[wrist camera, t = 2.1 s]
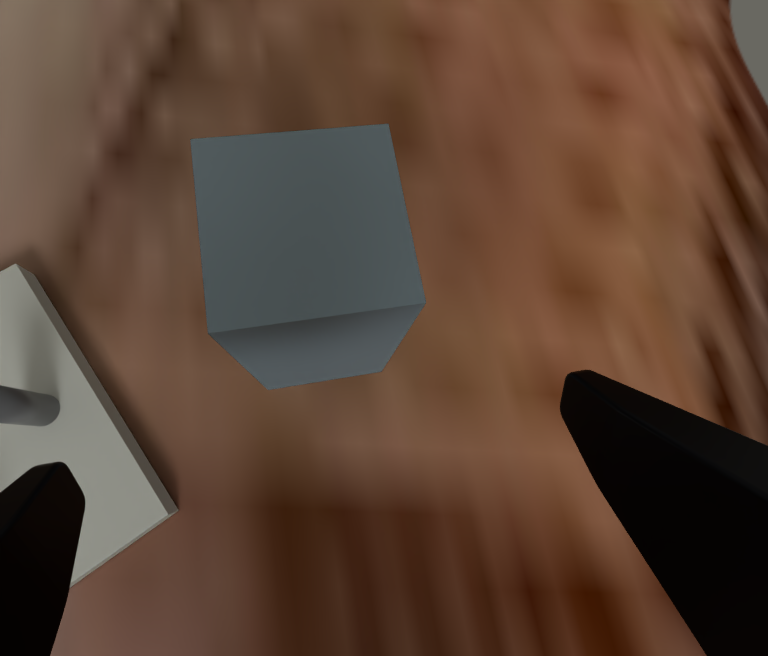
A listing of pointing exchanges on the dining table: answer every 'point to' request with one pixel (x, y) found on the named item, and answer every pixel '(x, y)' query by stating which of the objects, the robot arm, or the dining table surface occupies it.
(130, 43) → the dining table surface
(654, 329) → the dining table surface
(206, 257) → the block
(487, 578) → the dining table surface
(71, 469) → the base plate
